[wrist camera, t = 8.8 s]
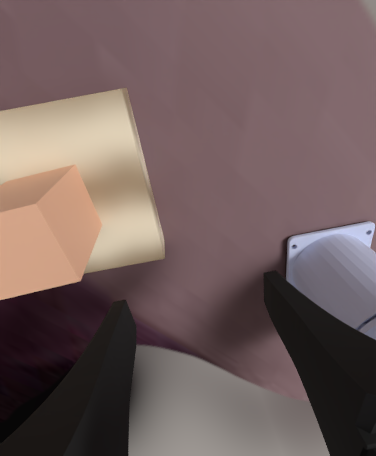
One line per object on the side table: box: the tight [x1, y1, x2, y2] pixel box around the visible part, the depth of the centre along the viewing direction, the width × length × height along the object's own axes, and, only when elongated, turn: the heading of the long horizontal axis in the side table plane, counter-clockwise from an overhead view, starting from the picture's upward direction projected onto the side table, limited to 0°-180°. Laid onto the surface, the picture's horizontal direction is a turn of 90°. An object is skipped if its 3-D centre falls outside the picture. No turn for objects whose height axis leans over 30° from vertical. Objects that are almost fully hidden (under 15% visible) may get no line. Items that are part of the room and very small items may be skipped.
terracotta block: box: [0, 165, 102, 300], centre depth 15 cm, size 4×4×6 cm
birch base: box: [0, 88, 165, 274], centre depth 19 cm, size 12×12×3 cm
